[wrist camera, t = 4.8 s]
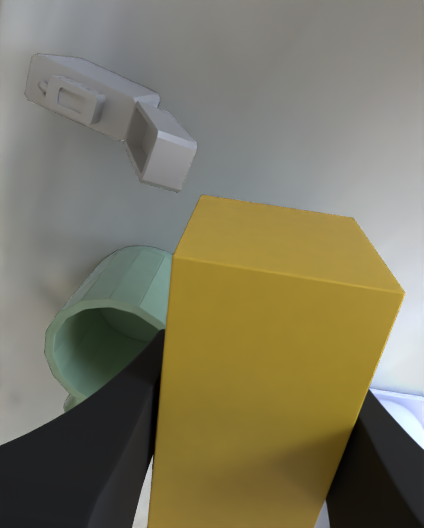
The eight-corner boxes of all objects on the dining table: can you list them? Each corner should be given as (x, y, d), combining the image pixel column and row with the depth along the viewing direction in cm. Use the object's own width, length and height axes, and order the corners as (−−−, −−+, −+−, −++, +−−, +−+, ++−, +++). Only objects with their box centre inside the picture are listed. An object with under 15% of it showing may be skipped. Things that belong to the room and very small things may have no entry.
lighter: (70, 94, 19) (-42, 103, 12) (79, 57, 19) (-34, 43, 11) (204, 155, 20) (175, 199, 13) (218, 121, 19) (195, 148, 12)
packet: (285, 450, 16) (295, 579, 12) (172, 431, 16) (144, 551, 12) (354, 217, 12) (408, 293, 8) (200, 194, 12) (170, 255, 8)
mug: (128, 223, 22) (85, 271, 16) (222, 289, 23) (212, 355, 18) (56, 327, 25) (2, 395, 20) (141, 380, 26) (111, 458, 21)
